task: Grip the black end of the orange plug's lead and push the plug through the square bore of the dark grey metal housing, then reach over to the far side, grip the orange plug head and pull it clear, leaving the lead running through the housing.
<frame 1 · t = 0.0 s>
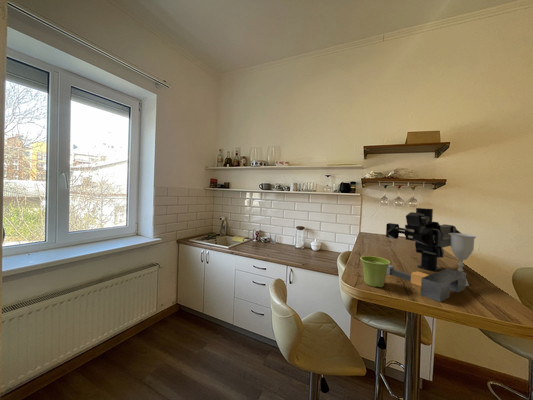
hand: (399, 235, 79), 17 cm above the breakfast bar, tool horizontal, fingers open, 9 cm apart
housing: (443, 291, 69), on the breakfast bar
chalice: (459, 283, 77), on the breakfast bar
plug: (403, 278, 80), on the breakfast bar
plant pot: (373, 284, 74), on the breakfast bar
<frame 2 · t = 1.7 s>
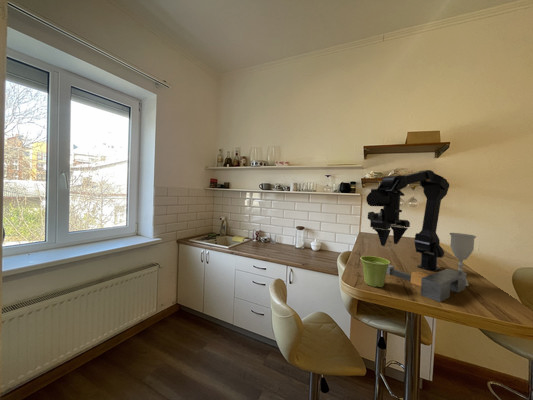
hand: (389, 244, 85), 11 cm above the breakfast bar, tool pointing down, fingers open, 9 cm apart
nothing on the breakfast bar moved.
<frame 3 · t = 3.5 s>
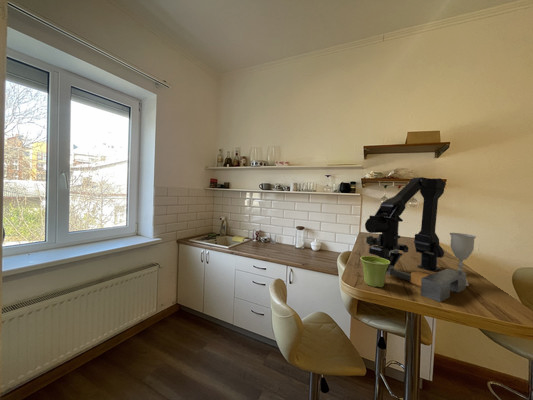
hand: (388, 270, 85), 1 cm above the breakfast bar, tool pointing down, fingers closed on plug, 3 cm apart
plug: (403, 278, 80), on the breakfast bar, touching gripper
everything else where it was.
when the fingers open (1 cm above the breakfast bar, at t = 7.7 s): plug stays where it is, on the breakfast bar.
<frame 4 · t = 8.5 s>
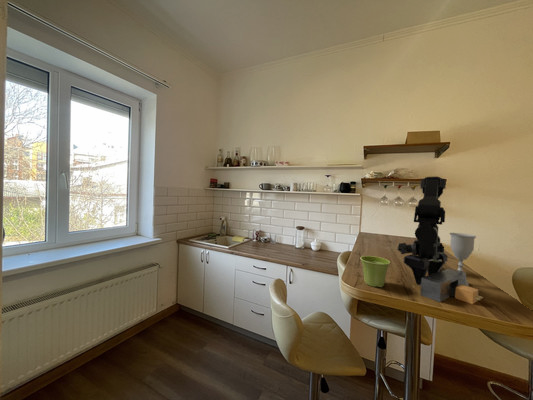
hand: (424, 282, 74), 1 cm above the breakfast bar, tool pointing down, fingers open, 9 cm apart
plug: (444, 291, 69), on the breakfast bar
everything else where it was.
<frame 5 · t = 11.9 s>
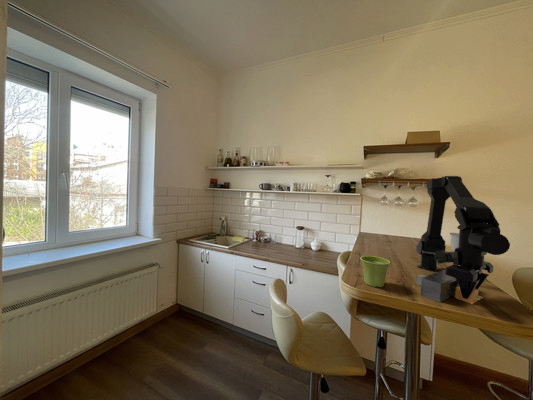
hand: (468, 296, 64), 1 cm above the breakfast bar, tool pointing down, fingers closed on plug, 4 cm apart
plug: (444, 291, 69), on the breakfast bar, touching gripper
everything else where it was.
when the fingers open (1 cm above the breakfast bar, at t = 14.6 s): plug stays where it is, on the breakfast bar.
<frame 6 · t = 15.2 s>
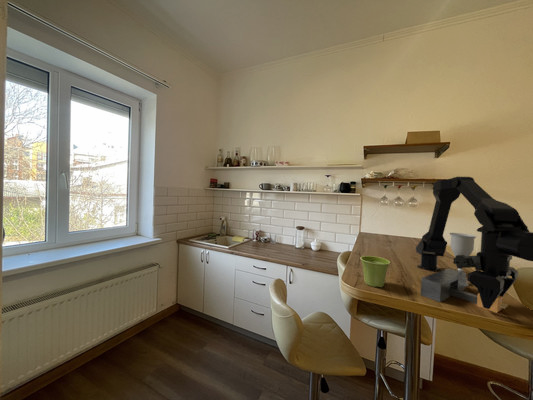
hand: (491, 304, 60), 1 cm above the breakfast bar, tool pointing down, fingers open, 9 cm apart
plug: (463, 298, 65), on the breakfast bar
everything else where it was.
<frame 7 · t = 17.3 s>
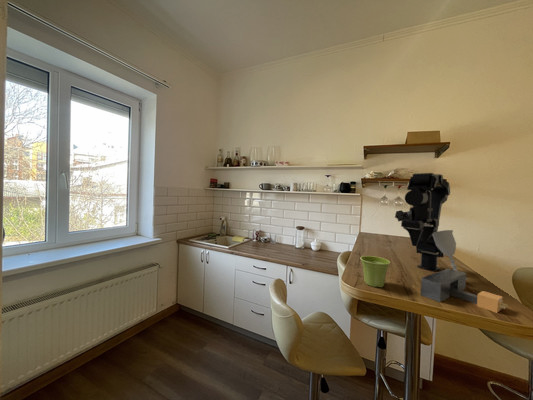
hand: (419, 244, 82), 13 cm above the breakfast bar, tool pointing down, fingers open, 9 cm apart
chalice: (459, 280, 77), point 1 cm above the breakfast bar, touching arm
everything else where it was.
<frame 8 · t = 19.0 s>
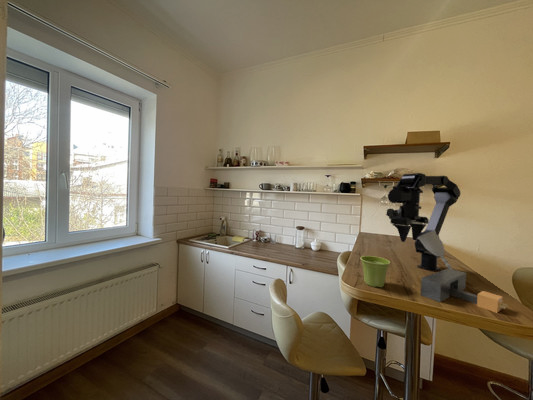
hand: (408, 240, 87), 13 cm above the breakfast bar, tool pointing down, fingers open, 9 cm apart
chalice: (458, 278, 77), point 1 cm above the breakfast bar, touching arm, gripper
everything else where it was.
at the end: plug 0.7 cm from the target spot, on the breakfast bar; the gripper is holding nothing; plug tilted 0° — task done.
